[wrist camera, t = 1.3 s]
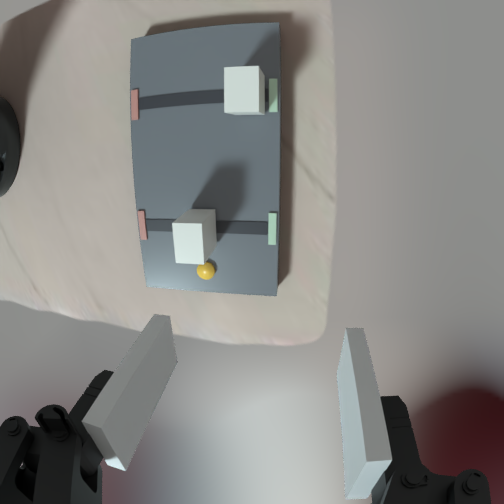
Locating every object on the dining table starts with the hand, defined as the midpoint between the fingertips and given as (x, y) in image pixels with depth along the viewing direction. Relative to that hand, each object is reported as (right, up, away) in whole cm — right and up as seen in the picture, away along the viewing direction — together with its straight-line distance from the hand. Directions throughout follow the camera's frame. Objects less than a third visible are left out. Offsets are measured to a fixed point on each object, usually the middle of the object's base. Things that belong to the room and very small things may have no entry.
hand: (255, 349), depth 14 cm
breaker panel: (-4, +13, +16) cm, 21 cm away
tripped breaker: (-5, +7, +16) cm, 18 cm away
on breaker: (0, +17, +11) cm, 21 cm away
